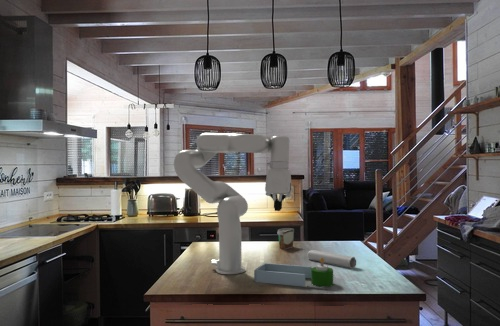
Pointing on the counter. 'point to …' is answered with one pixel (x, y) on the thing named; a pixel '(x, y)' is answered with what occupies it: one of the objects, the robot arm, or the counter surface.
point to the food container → (285, 238)
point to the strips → (316, 287)
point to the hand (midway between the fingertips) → (277, 210)
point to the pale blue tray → (282, 274)
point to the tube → (332, 259)
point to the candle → (322, 275)
